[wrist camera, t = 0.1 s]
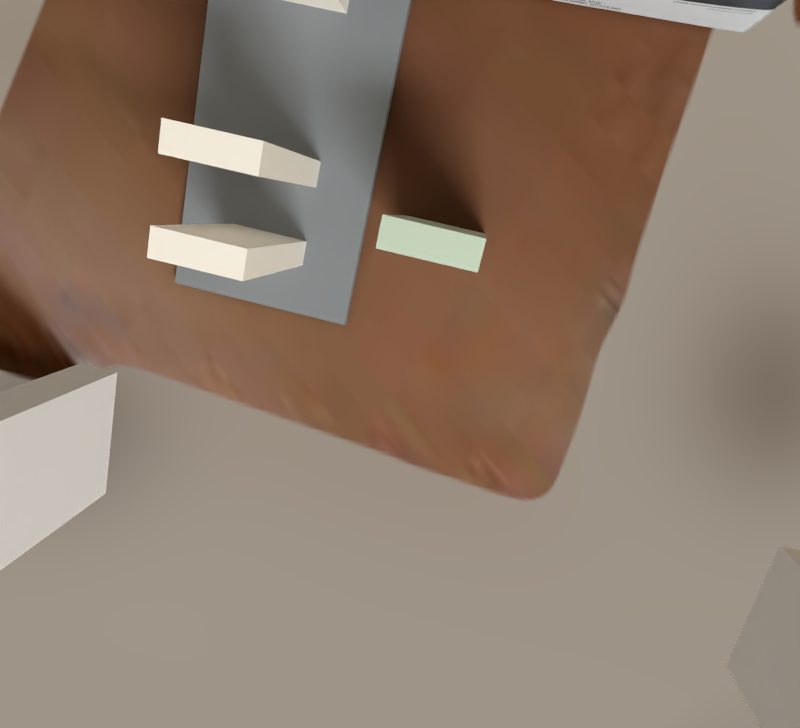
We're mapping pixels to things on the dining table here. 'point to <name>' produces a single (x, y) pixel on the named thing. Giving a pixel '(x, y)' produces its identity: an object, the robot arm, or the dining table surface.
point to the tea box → (693, 11)
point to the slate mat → (297, 137)
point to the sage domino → (431, 241)
